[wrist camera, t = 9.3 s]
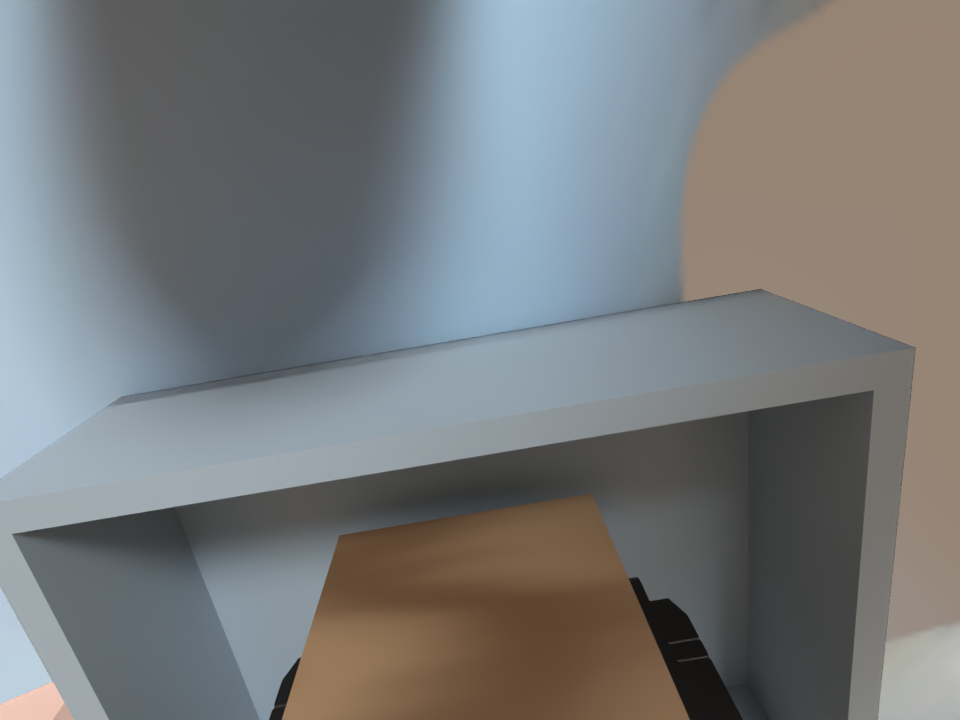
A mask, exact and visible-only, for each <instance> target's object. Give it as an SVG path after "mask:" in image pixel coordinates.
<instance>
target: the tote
mask: <svg viewBox="0 0 960 720" xmlns="http://www.w3.org/2000/svg"><path fill="white" fill-rule="evenodd" d="M915 349H916V348H915V347H912V346H910V345H907V344H905V343H902V342H899V341H896V340H894V339H891V338H888V337H886V336H883V335H880V334H878V333H875V332H873V331H870V330H867V329H865V328H862V327H859V326H857V325H854V324H852V323H849V322H846V321H844V320H841V319H838V318H836V317H833V316H830V315H828V314H825V313H822V312H820V311H817V310H814V309H812V308H809V307H807V306H804V305H801V304H799V303H796V302H793V301H791V300H788V299H785V298H783V297H780V296H778V295H775V294H772V293H770V292H767V291H764V290H762V289H759V290H752V291H746V292H741V293H735V294H728V295H723V296H717V297H711V298H705V299H699V300H693V301H687V302H681V303H675V304H669V305H663V306H657V307H651V308H645V309H640V310H634V311H628V312H622V313H616V314H610V315H604V316H598V317H592V318H586V319H580V320H574V321H568V322H562V323H557V324H551V325H545V326H539V327H533V328H527V329H521V330H515V331H509V332H503V333H497V334H491V335H485V336H479V337H474V338H468V339H462V340H456V341H450V342H444V343H438V344H432V345H426V346H420V347H414V348H408V349H402V350H397V351H391V352H385V353H379V354H373V355H367V356H361V357H355V358H349V359H343V360H337V361H331V362H325V363H319V364H314V365H308V366H302V367H296V368H290V369H284V370H278V371H272V372H266V373H260V374H254V375H248V376H242V377H236V378H231V379H225V380H219V381H213V382H207V383H201V384H195V385H189V386H183V387H177V388H171V389H165V390H159V391H153V392H148V393H142V394H136V395H130V396H124V397H121V398H119V399H118V400H116V401H115V402H113V403H112V404H110V405H109V406H107V407H106V408H104V409H103V410H102V411H100V412H99V413H97V414H96V415H94V416H93V417H91V418H90V419H88V420H87V421H85V422H84V423H82V424H81V425H79V426H78V427H76V428H75V429H73V430H72V431H70V432H69V433H68V434H66V435H65V436H63V437H62V438H60V439H59V440H57V441H56V442H54V443H53V444H51V445H50V446H48V447H47V448H45V449H44V450H42V451H41V452H39V453H38V454H37V455H35V456H34V457H32V458H31V459H29V460H28V461H26V462H25V463H23V464H22V465H20V466H19V467H17V468H16V469H14V470H13V471H11V472H10V473H8V474H7V475H5V476H4V477H3V478H1V479H0V587H1V589H2V591H3V592H4V594H5V596H6V598H7V600H8V602H9V603H10V605H11V607H12V609H13V611H14V612H15V614H16V616H17V618H18V620H19V621H20V623H21V625H22V627H23V629H24V630H25V632H26V634H27V636H28V638H29V639H30V641H31V643H32V645H33V647H34V649H35V650H36V652H37V654H38V656H39V658H40V659H41V661H42V663H43V665H44V667H45V668H46V670H47V672H48V674H49V676H50V677H51V679H52V681H53V683H54V685H55V686H56V688H57V690H58V692H59V694H60V696H61V697H62V699H63V701H64V703H65V705H66V706H67V708H68V710H69V712H70V714H71V715H72V717H73V719H74V720H269V718H270V715H271V712H272V709H274V703H275V700H276V697H277V694H278V691H279V688H280V685H281V682H282V680H283V678H284V677H285V676H286V674H287V673H288V672H289V670H290V669H291V668H292V666H293V665H294V663H295V662H296V661H297V659H298V658H301V657H302V653H303V650H304V647H305V644H306V641H307V637H308V634H309V631H310V628H311V625H312V621H313V618H314V615H315V612H316V609H317V605H318V602H319V599H320V596H321V593H322V589H323V586H324V583H325V580H326V577H327V573H328V570H329V567H330V564H331V561H332V557H333V554H334V551H335V548H336V545H337V542H338V538H339V535H345V534H351V533H357V532H363V531H369V530H375V529H381V528H387V527H393V526H399V525H405V524H411V523H417V522H423V521H429V520H435V519H441V518H447V517H453V516H459V515H465V514H471V513H477V512H483V511H489V510H495V509H501V508H508V507H514V506H520V505H526V504H532V503H538V502H544V501H550V500H556V499H562V498H568V497H574V496H580V495H586V494H592V495H593V498H594V500H595V502H596V505H597V507H598V509H599V512H600V514H601V516H602V518H603V521H604V523H605V525H606V528H607V530H608V532H609V535H610V537H611V539H612V541H613V544H614V546H615V548H616V551H617V553H618V555H619V558H620V560H621V562H622V565H623V567H624V569H625V571H626V574H627V576H628V578H633V577H638V578H639V579H640V581H641V583H642V585H643V587H644V590H645V592H646V594H647V596H648V598H649V601H654V600H660V599H666V598H669V599H670V600H671V601H672V602H673V603H674V604H676V605H677V606H678V607H679V608H680V609H681V610H682V611H684V612H685V613H686V614H687V615H688V617H689V619H690V621H691V622H692V624H693V626H694V628H695V630H696V632H697V634H698V636H699V639H700V641H702V643H703V645H704V647H705V649H706V651H707V653H708V655H709V658H710V659H711V660H712V662H713V664H714V666H715V668H716V670H717V671H718V673H719V675H720V677H721V679H722V681H723V683H724V685H725V686H726V688H727V690H728V692H729V694H730V696H731V698H732V700H733V702H734V703H735V705H736V707H737V709H738V711H739V713H740V715H741V717H742V718H743V720H877V719H878V709H879V699H880V690H881V680H882V670H883V660H884V651H885V641H886V631H887V621H888V612H889V602H890V593H891V582H892V573H893V564H894V554H895V544H896V534H897V525H898V515H899V505H900V494H901V486H902V476H903V467H904V457H905V447H906V437H907V427H908V418H909V407H910V399H911V389H912V379H913V369H914V359H915Z"/></svg>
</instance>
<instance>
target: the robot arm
mask: <svg viewBox="0 0 960 720" xmlns="http://www.w3.org/2000/svg"><path fill="white" fill-rule="evenodd" d="M629 581H630V583H631V585H632V588H633V590H634V592H635V594H636V597H637V599H638V601H639V604H640V606H641V608H642V611H643V613H644V615H645V618H646V620H647V622H648V624H649V627H650V629H651V631H652V634H653V636H654V638H655V641H656V643H657V645H658V648H659V650H660V652H661V654H662V657H663V659H664V661H665V664H666V666H667V668H668V671H669V673H670V675H671V677H672V680H673V682H674V684H675V687H676V689H677V691H678V694H679V696H680V698H681V701H682V703H683V705H684V707H685V710H686V712H687V714H688V717H689V719H690V720H743V718H742V717H741V715H740V713H739V711H738V709H737V707H736V705H735V703H734V702H733V700H732V698H731V696H730V694H729V692H728V690H727V688H726V686H725V685H724V683H723V681H722V679H721V677H720V675H719V673H718V671H717V670H716V668H715V666H714V664H713V662H712V660H711V659H710V658H709V655H708V653H707V651H706V649H705V647H704V645H703V643H702V641H700V639H699V636H698V634H697V632H696V630H695V628H694V626H693V624H692V622H691V621H690V619H689V617H688V615H687V614H686V613H685V612H684V611H682V610H681V609H680V608H679V607H678V606H677V605H676V604H674V603H673V602H672V601H671V600H670V599H669V598H666V599H660V600H654V601H649V598H648V596H647V594H646V592H645V590H644V587H643V585H642V583H641V581H640V579H639V578H638V577H633V578H629ZM300 660H301V658H298V659H297V661H296V662H295V663H294V665H293V666H292V668H291V669H290V670H289V672H288V673H287V674H286V676H285V677H284V678H283V680H282V682H281V685H280V688H279V691H278V694H277V697H276V700H275V703H274V709H272V712H271V715H270V718H269V720H282V717H283V714H284V711H285V708H286V705H287V701H288V698H289V695H290V692H291V689H292V685H293V682H294V679H295V676H296V673H297V669H298V666H299V663H300Z"/></svg>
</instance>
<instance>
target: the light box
mask: <svg viewBox="0 0 960 720" xmlns="http://www.w3.org/2000/svg"><path fill="white" fill-rule="evenodd" d="M0 720H74V719H73V717H72V715H71V714H70V712H69V710H68V708H67V706H66V705H65V703H64V701H63V699H62V697H61V696H60V694H59V692H58V690H57V688H56V686H55V685H54V683H53V682H51V683H49V684H46V685H44V686H42V687H39V688H37V689H35V690H32V691H30V692H28V693H25V694H23V695H21V696H18V697H16V698H13V699H11V700H9V701H6V702H4V703H2V704H0Z"/></svg>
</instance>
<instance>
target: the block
mask: <svg viewBox="0 0 960 720" xmlns="http://www.w3.org/2000/svg"><path fill="white" fill-rule="evenodd" d="M282 720H690V719H689V717H688V714H687V712H686V710H685V707H684V705H683V703H682V701H681V698H680V696H679V694H678V691H677V689H676V687H675V684H674V682H673V680H672V677H671V675H670V673H669V671H668V668H667V666H666V664H665V661H664V659H663V657H662V654H661V652H660V650H659V648H658V645H657V643H656V641H655V638H654V636H653V634H652V631H651V629H650V627H649V624H648V622H647V620H646V618H645V615H644V613H643V611H642V608H641V606H640V604H639V601H638V599H637V597H636V594H635V592H634V590H633V588H632V585H631V583H630V581H629V578H628V576H627V574H626V571H625V569H624V567H623V565H622V562H621V560H620V558H619V555H618V553H617V551H616V548H615V546H614V544H613V541H612V539H611V537H610V535H609V532H608V530H607V528H606V525H605V523H604V521H603V518H602V516H601V514H600V512H599V509H598V507H597V505H596V502H595V500H594V498H593V495H592V494H586V495H580V496H574V497H568V498H562V499H556V500H550V501H544V502H538V503H532V504H526V505H520V506H514V507H508V508H501V509H495V510H489V511H483V512H477V513H471V514H465V515H459V516H453V517H447V518H441V519H435V520H429V521H423V522H417V523H411V524H405V525H399V526H393V527H387V528H381V529H375V530H369V531H363V532H357V533H351V534H345V535H339V538H338V542H337V545H336V548H335V551H334V554H333V557H332V561H331V564H330V567H329V570H328V573H327V577H326V580H325V583H324V586H323V589H322V593H321V596H320V599H319V602H318V605H317V609H316V612H315V615H314V618H313V621H312V625H311V628H310V631H309V634H308V637H307V641H306V644H305V647H304V650H303V653H302V657H301V660H300V663H299V666H298V669H297V673H296V676H295V679H294V682H293V685H292V689H291V692H290V695H289V698H288V701H287V705H286V708H285V711H284V714H283V717H282Z"/></svg>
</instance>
